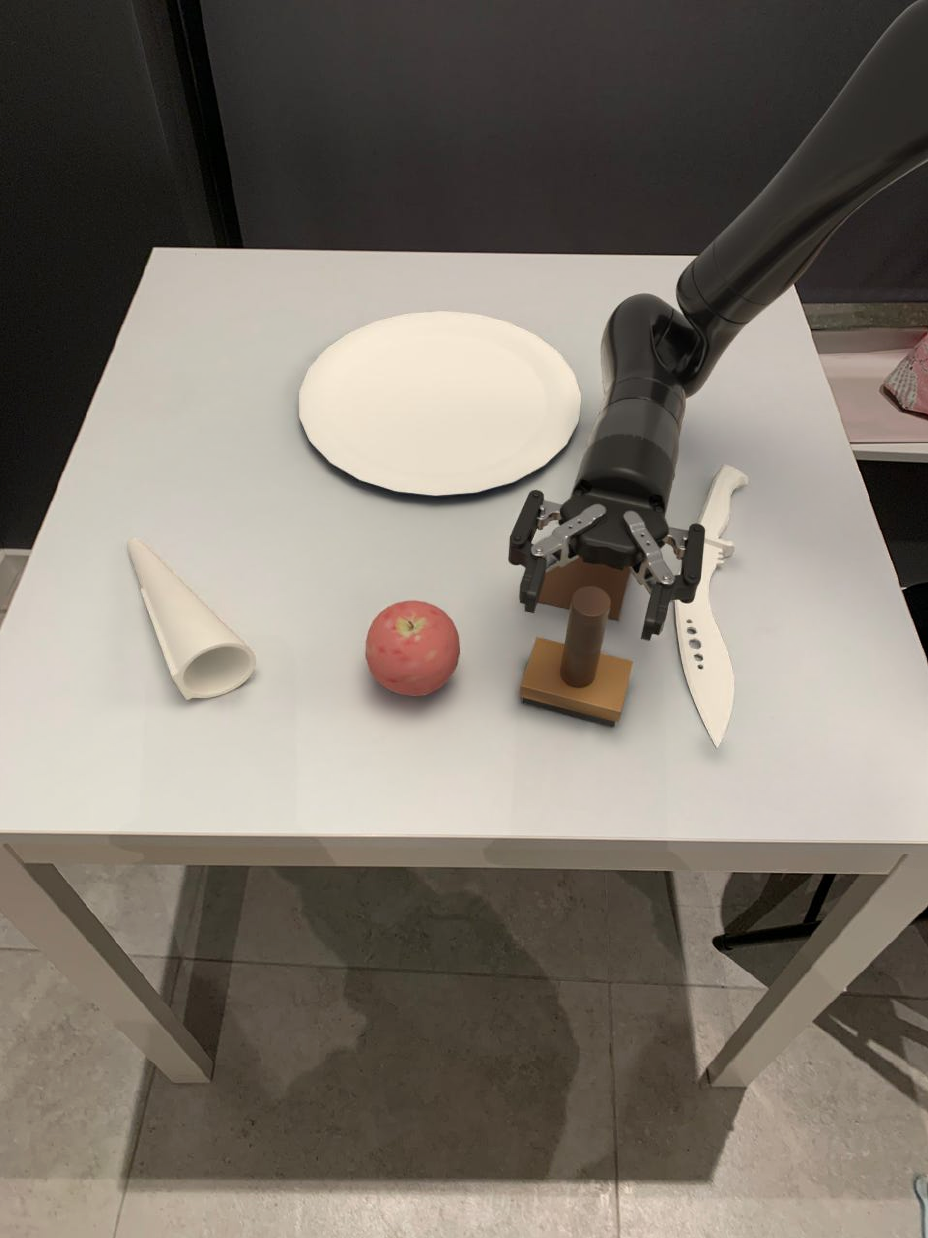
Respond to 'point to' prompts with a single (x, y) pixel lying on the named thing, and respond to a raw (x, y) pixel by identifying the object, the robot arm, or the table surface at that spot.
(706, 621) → the knife
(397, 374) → the plate
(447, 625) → the apple
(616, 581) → the brown flat block
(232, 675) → the long cone
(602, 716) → the wooden handled stamp
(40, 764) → the table surface
